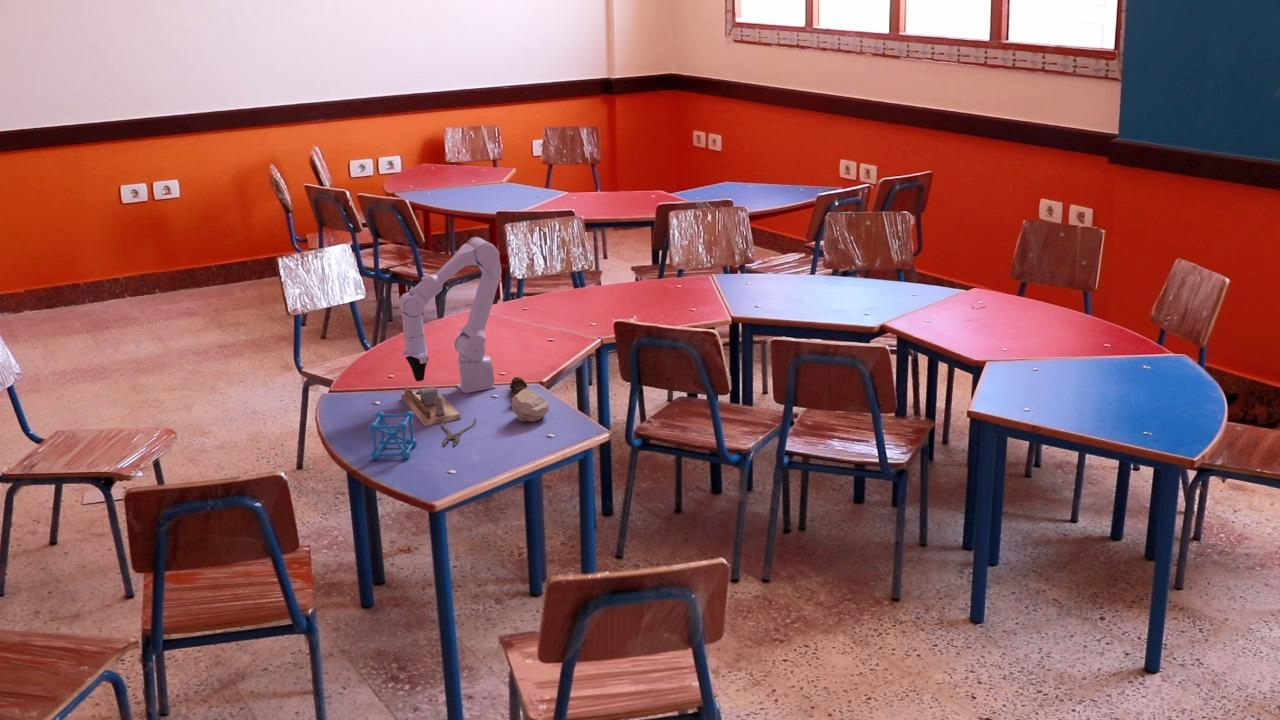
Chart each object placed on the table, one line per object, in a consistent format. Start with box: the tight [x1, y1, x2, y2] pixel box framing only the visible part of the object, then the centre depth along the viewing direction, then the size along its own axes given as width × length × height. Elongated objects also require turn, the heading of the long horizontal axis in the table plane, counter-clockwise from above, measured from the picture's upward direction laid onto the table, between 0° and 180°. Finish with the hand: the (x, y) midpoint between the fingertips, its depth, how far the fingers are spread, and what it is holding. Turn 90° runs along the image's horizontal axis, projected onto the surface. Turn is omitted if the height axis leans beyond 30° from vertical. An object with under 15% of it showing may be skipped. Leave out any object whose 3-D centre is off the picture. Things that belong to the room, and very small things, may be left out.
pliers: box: [440, 417, 477, 448], centre depth 328 cm, size 10×1×20 cm
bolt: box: [509, 376, 528, 400], centre depth 351 cm, size 6×5×15 cm
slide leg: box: [419, 385, 439, 406], centre depth 344 cm, size 4×4×4 cm
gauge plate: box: [400, 386, 461, 427], centre depth 344 cm, size 10×24×6 cm, turn 25°
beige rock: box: [511, 388, 550, 423], centre depth 334 cm, size 12×8×10 cm
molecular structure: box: [367, 410, 418, 461], centre depth 315 cm, size 10×10×10 cm
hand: (419, 380), depth 352 cm, fingers closed
